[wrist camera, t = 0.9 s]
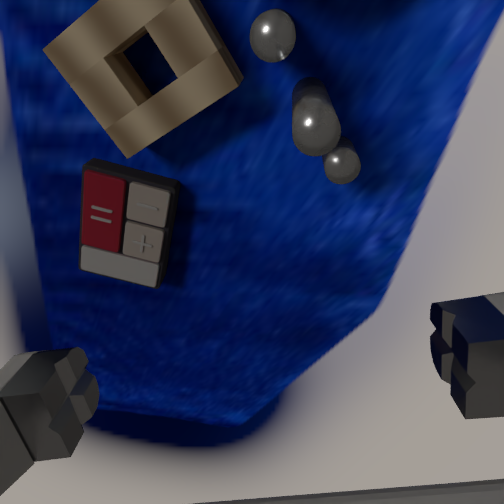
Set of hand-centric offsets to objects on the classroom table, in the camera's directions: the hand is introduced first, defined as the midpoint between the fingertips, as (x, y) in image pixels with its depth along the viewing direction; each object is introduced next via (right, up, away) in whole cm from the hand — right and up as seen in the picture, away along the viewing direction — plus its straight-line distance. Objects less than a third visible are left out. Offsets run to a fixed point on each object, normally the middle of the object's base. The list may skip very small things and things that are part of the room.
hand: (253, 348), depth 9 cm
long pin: (+6, +19, +32) cm, 38 cm away
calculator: (-16, +7, +43) cm, 46 cm away
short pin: (+10, +14, +35) cm, 39 cm away
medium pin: (+2, +24, +29) cm, 38 cm away
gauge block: (-10, +22, +31) cm, 40 cm away
